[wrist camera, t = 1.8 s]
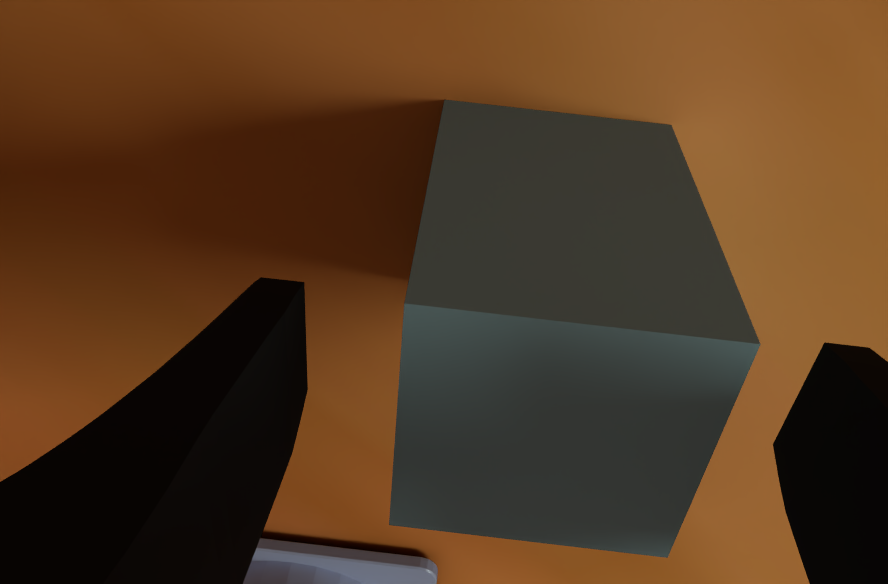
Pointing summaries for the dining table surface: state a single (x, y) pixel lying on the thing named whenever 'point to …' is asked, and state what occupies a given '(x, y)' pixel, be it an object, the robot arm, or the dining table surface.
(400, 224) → the dining table surface
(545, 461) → the block
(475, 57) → the dining table surface
